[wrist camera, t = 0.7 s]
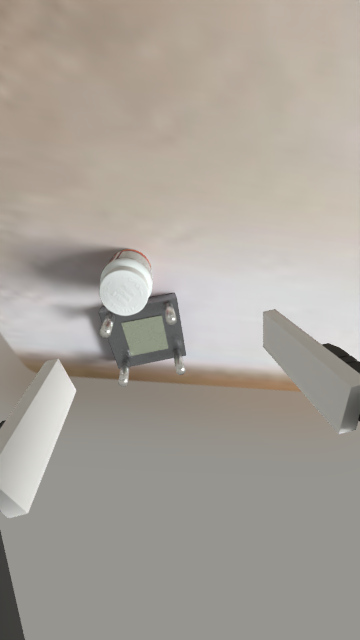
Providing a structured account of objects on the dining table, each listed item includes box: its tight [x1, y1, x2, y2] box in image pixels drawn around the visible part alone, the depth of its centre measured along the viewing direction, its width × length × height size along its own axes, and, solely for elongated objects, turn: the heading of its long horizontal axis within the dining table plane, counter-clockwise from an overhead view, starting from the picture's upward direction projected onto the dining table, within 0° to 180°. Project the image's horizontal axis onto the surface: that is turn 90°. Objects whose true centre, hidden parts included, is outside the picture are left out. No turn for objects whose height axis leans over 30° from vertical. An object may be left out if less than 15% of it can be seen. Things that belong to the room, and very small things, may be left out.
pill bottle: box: [99, 249, 153, 316], centre depth 28 cm, size 6×6×11 cm
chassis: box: [99, 293, 186, 387], centre depth 34 cm, size 11×12×8 cm
